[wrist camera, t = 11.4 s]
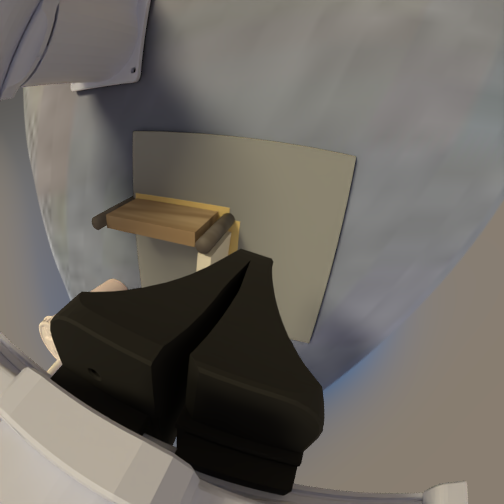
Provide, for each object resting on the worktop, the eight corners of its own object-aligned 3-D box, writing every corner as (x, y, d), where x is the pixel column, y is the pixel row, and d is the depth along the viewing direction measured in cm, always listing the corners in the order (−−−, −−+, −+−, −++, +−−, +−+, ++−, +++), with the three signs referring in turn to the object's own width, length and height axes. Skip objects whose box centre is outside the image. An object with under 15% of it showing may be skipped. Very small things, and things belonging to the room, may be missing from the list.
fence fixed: (130, 195, 23) (90, 215, 18) (236, 212, 21) (211, 240, 17) (130, 206, 23) (92, 228, 19) (235, 225, 22) (210, 255, 17)
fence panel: (219, 229, 21) (197, 253, 18) (231, 232, 21) (211, 257, 18) (210, 311, 25) (192, 341, 22) (220, 314, 25) (203, 344, 22)
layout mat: (135, 131, 20) (132, 131, 20) (355, 156, 17) (356, 157, 17) (144, 297, 28) (142, 299, 27) (309, 340, 25) (308, 343, 24)
